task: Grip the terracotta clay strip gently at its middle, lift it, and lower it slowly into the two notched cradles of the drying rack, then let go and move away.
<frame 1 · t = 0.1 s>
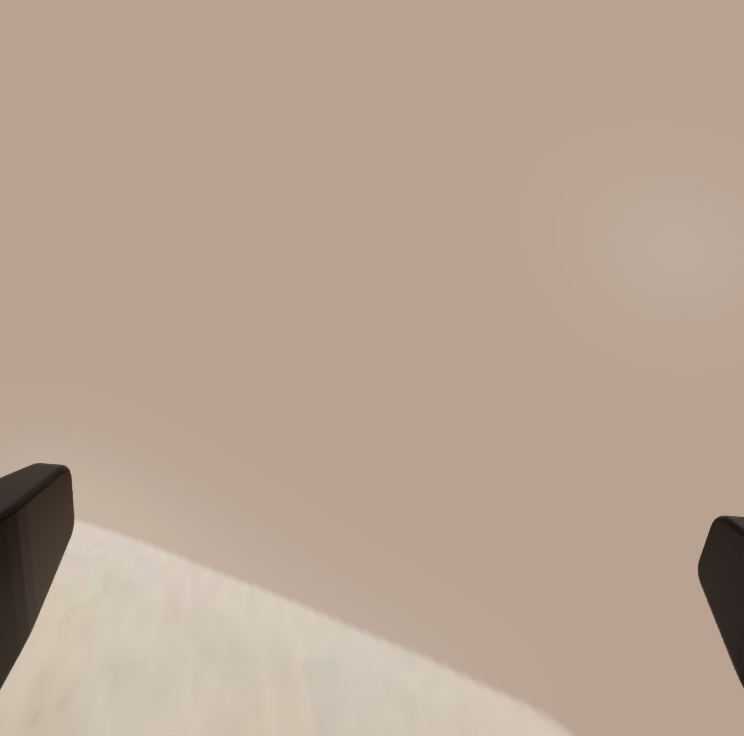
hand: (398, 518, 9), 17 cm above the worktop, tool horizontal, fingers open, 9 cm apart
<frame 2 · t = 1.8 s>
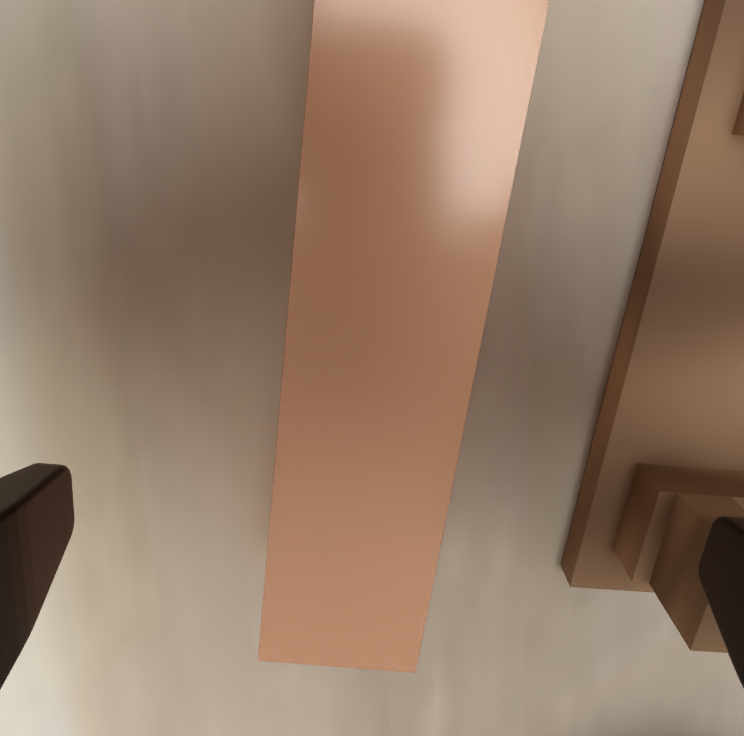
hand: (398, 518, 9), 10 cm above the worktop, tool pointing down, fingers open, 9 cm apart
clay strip: (372, 308, 19), on the worktop
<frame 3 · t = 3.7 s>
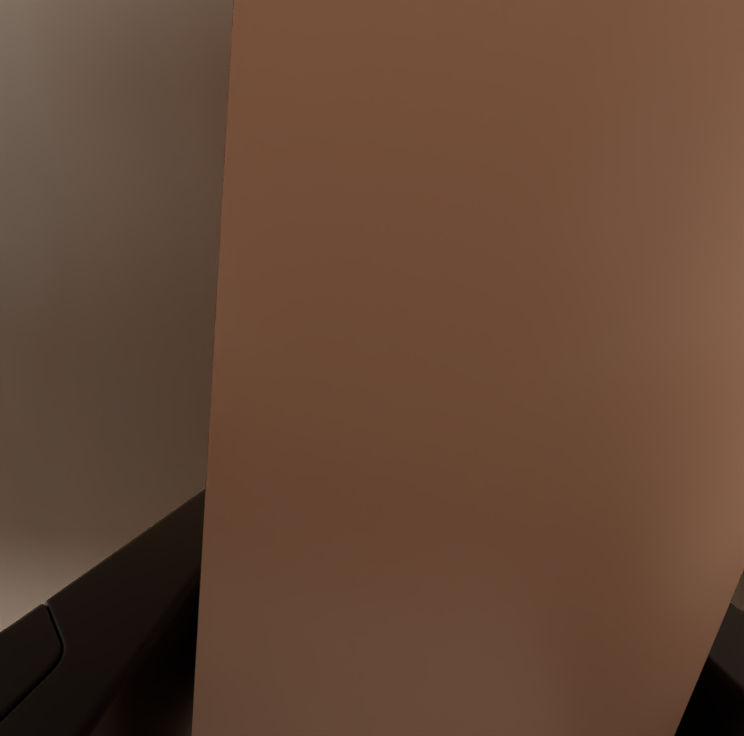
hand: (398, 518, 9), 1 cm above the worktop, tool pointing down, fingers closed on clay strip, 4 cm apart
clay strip: (393, 477, 10), on the worktop, touching gripper
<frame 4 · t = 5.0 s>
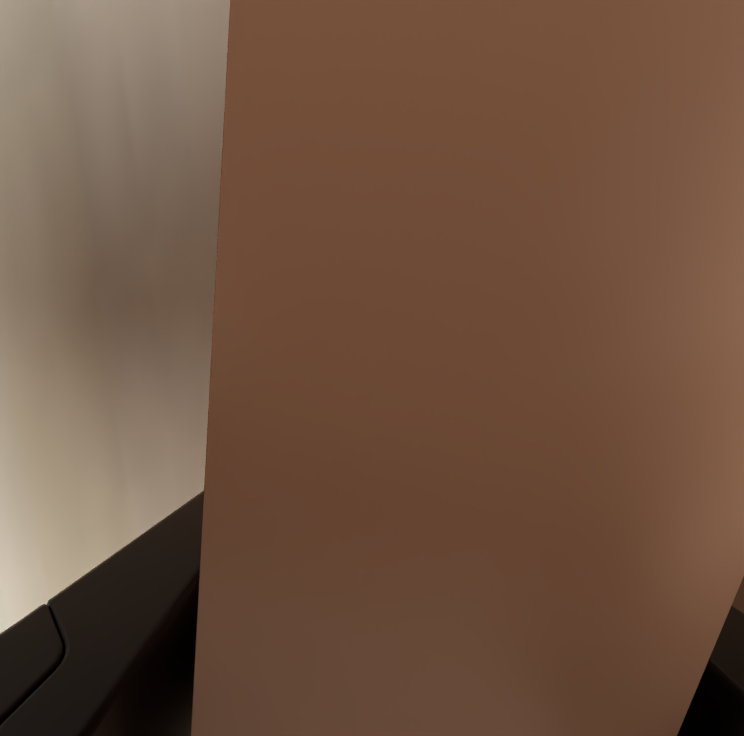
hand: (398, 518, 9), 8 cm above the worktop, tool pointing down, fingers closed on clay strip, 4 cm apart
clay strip: (393, 476, 10), point 7 cm above the worktop, touching gripper
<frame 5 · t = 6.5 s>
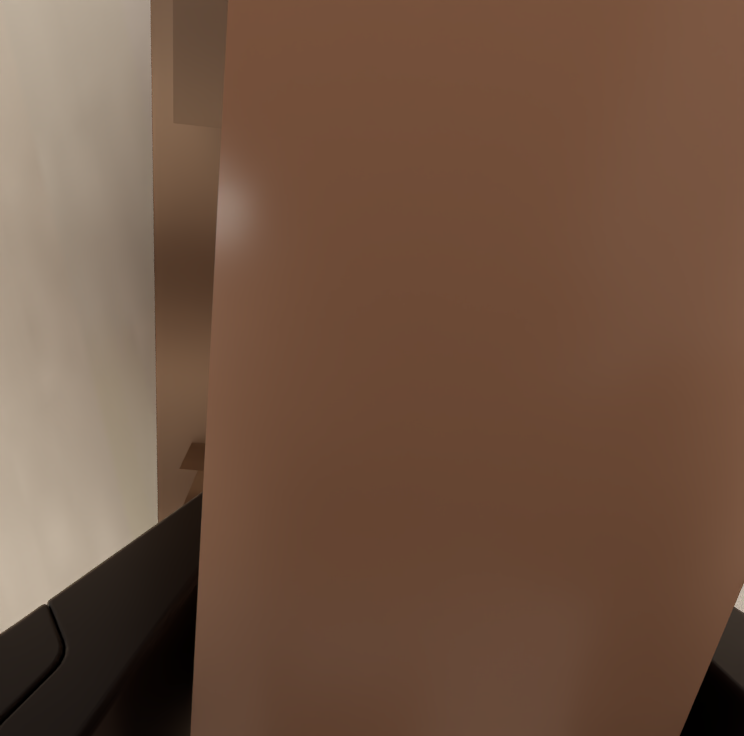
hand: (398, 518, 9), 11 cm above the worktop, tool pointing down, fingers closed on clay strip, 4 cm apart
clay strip: (394, 474, 10), point 9 cm above the worktop, touching gripper
drying rack: (376, 301, 19), on the worktop
when the fingers open (4 cm above the worktop, at t = 8.5 s): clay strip stays where it is, resting on drying rack.
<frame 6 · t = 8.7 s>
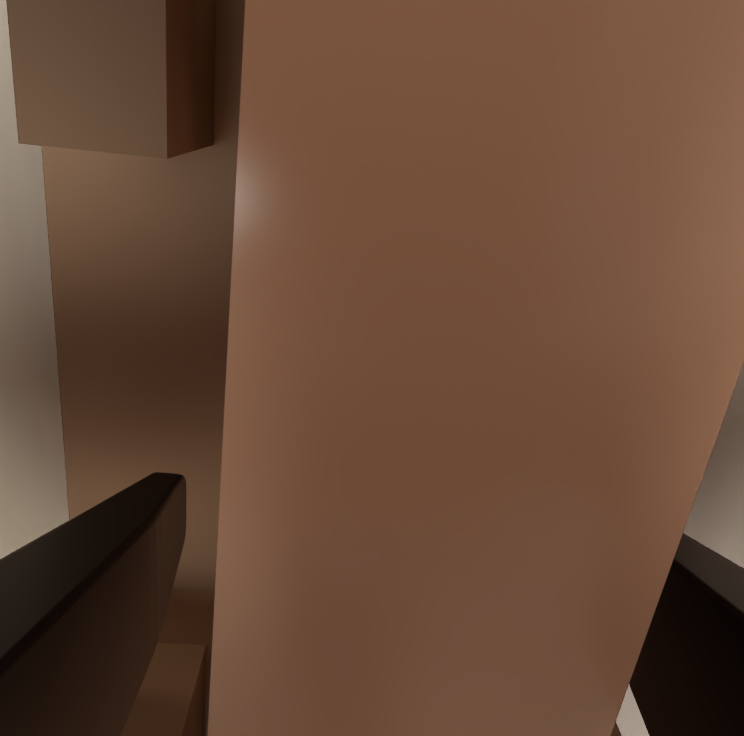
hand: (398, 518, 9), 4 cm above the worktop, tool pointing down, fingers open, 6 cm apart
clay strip: (391, 448, 11), point 2 cm above the worktop, touching drying rack
drying rack: (384, 388, 13), on the worktop
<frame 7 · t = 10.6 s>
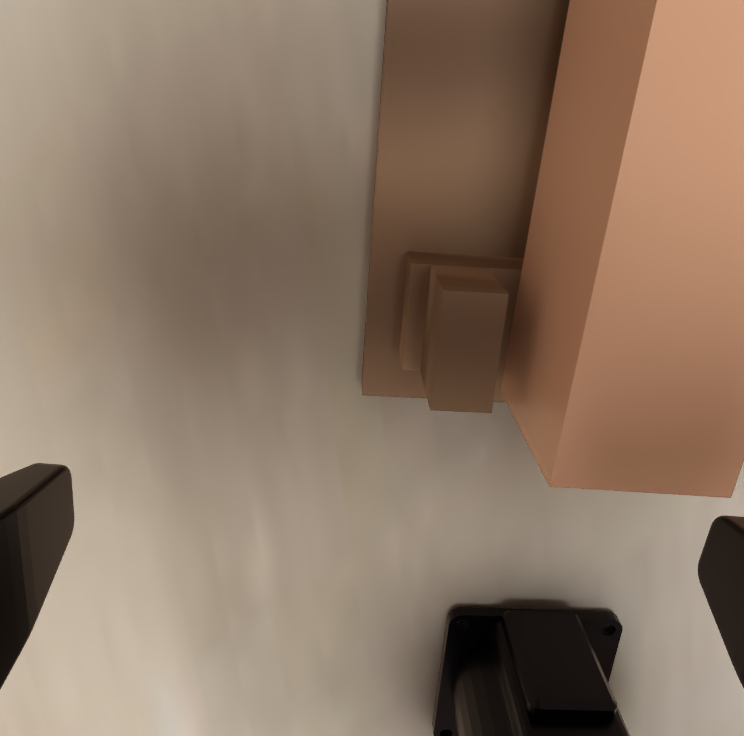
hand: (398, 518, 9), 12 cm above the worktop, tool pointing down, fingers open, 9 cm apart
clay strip: (636, 91, 16), point 2 cm above the worktop, touching drying rack
drying rack: (600, 91, 18), on the worktop
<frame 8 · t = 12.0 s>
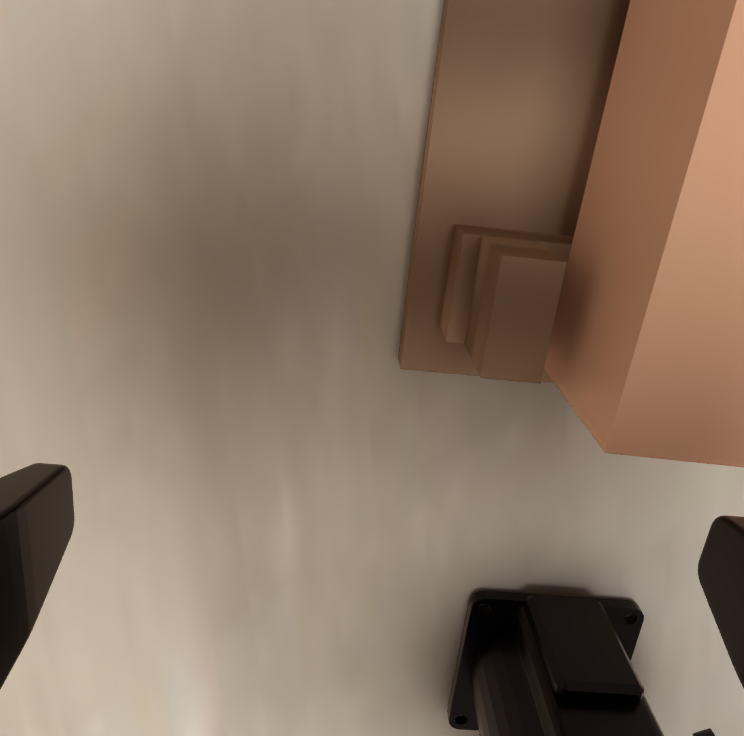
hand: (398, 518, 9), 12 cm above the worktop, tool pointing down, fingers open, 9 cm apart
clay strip: (697, 68, 16), point 2 cm above the worktop, touching drying rack
drying rack: (653, 72, 18), on the worktop
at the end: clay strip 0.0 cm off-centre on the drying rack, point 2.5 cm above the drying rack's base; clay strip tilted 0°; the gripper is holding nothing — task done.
